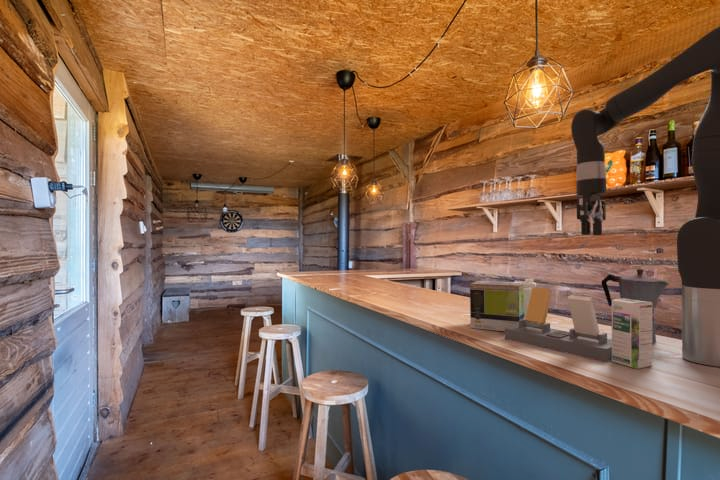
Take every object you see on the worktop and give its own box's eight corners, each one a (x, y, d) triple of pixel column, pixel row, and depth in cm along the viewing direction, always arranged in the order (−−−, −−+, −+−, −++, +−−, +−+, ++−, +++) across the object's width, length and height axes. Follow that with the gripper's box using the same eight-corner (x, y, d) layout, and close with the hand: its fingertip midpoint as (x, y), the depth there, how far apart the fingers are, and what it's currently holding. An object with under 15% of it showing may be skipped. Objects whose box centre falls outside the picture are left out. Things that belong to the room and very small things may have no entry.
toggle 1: (544, 330, 104) (552, 290, 107) (541, 328, 103) (549, 288, 106) (526, 326, 108) (534, 289, 111) (523, 325, 107) (532, 287, 110)
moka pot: (670, 348, 96) (670, 271, 96) (600, 339, 106) (599, 268, 106) (668, 340, 104) (668, 268, 104) (603, 332, 113) (602, 266, 113)
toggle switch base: (623, 353, 92) (623, 332, 92) (606, 361, 86) (606, 339, 86) (523, 333, 113) (523, 316, 113) (504, 338, 107) (504, 320, 107)
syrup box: (610, 361, 87) (609, 299, 87) (627, 358, 89) (627, 297, 89) (636, 369, 81) (635, 303, 81) (654, 366, 83) (653, 301, 83)
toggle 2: (601, 337, 93) (592, 297, 90) (598, 341, 92) (589, 300, 89) (578, 333, 97) (569, 295, 94) (576, 337, 96) (566, 298, 93)
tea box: (525, 327, 121) (524, 282, 121) (519, 334, 112) (519, 285, 112) (477, 322, 129) (477, 279, 129) (469, 328, 120) (469, 282, 120)
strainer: (541, 324, 125) (540, 279, 125) (525, 326, 122) (525, 280, 122) (524, 320, 131) (523, 277, 131) (509, 322, 128) (508, 278, 128)
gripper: (594, 174, 103) (595, 234, 102) (615, 179, 111) (616, 234, 111) (566, 178, 109) (567, 235, 109) (587, 182, 117) (588, 235, 117)
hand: (591, 234), depth 110 cm, fingers open, 7 cm apart
